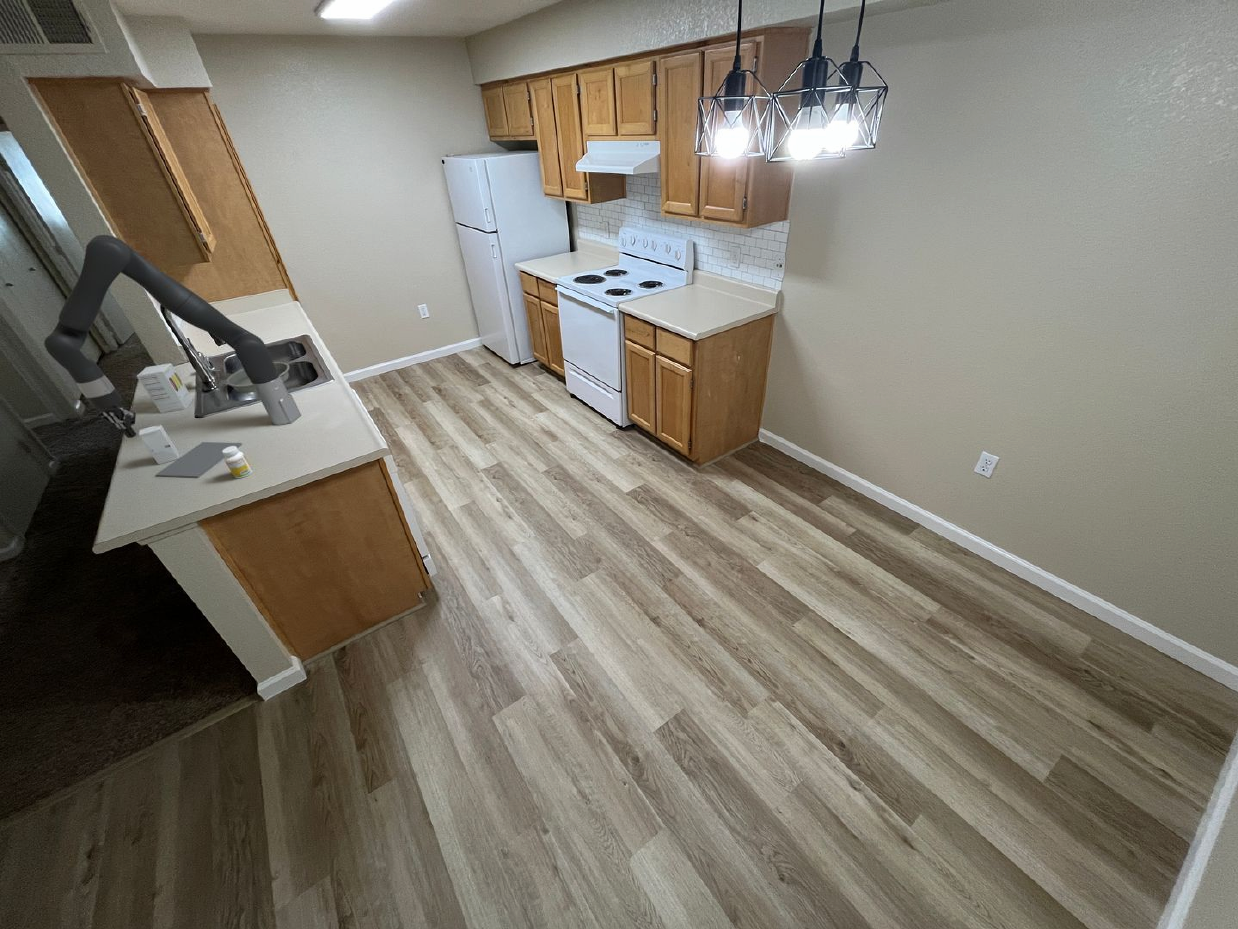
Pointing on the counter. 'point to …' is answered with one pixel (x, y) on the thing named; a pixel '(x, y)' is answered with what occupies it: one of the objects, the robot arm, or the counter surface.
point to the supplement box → (165, 387)
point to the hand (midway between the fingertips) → (132, 436)
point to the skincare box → (159, 444)
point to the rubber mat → (197, 460)
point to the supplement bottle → (237, 462)
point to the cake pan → (244, 384)
